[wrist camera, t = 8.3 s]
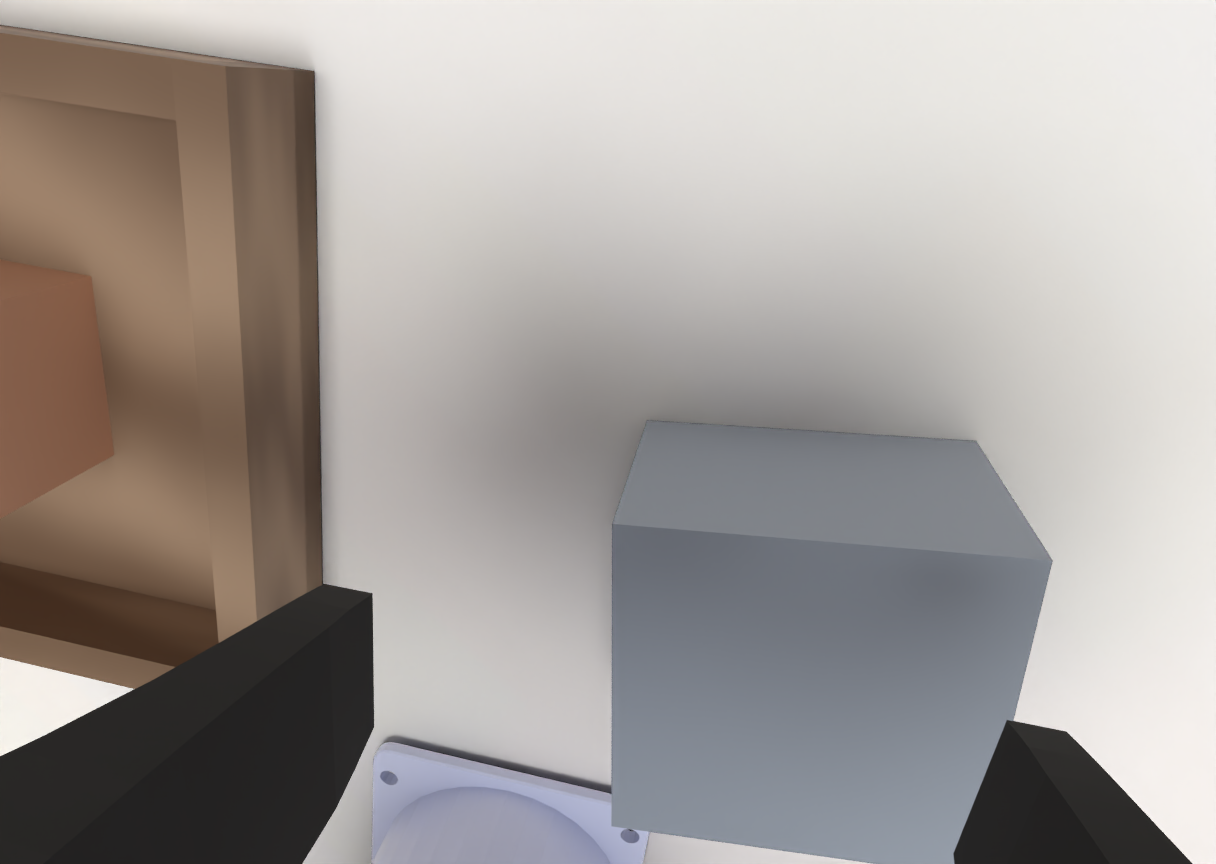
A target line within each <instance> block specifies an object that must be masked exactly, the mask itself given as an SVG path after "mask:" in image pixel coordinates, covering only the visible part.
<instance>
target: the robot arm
mask: <svg viewBox="0 0 1216 864" xmlns="http://www.w3.org/2000/svg"><path fill="white" fill-rule="evenodd" d="M373 728H374V686H373V604H372V593H367V592H362V591H357V590H352V589H347V588H342V587H337V586H332V585H327V584H323V585H321V586H319V587H317V588H315V589H313V590H311V591H309V592H307V593H306V594H304V595H302V596H300V597H298V598H296V599H295V600H293V601H291V602H289V603H288V604H286V605H284V606H282V607H281V608H279V609H277V610H275V611H274V612H272V613H270V614H268V615H267V616H265V617H263V618H261V619H260V620H258V621H256V622H254V623H253V624H251V625H249V626H248V627H246V628H244V629H242V630H241V631H239V632H237V633H235V634H234V635H232V636H230V637H228V638H227V639H225V640H223V641H221V642H220V643H218V644H216V645H214V646H212V647H211V648H209V649H207V650H205V651H204V652H202V653H200V654H198V655H196V656H195V657H193V658H191V659H189V660H187V661H186V662H184V663H182V664H180V665H179V666H177V667H175V668H173V669H171V670H170V671H168V672H166V673H164V674H162V675H161V676H159V677H157V678H155V679H153V680H152V681H150V682H148V683H146V684H144V685H142V686H140V687H138V688H136V689H134V690H132V691H130V692H128V693H126V694H124V695H123V696H121V697H119V698H117V699H115V700H113V701H111V702H109V703H107V704H105V705H103V706H101V707H99V708H97V709H95V710H93V711H91V712H89V713H87V714H86V715H84V716H82V717H80V718H78V719H76V720H74V721H72V722H70V723H68V724H66V725H64V726H62V727H60V728H58V729H56V730H54V731H52V732H50V733H49V734H47V735H45V736H42V737H40V738H38V739H36V740H34V741H32V742H30V743H28V744H26V745H24V746H22V747H19V748H17V749H15V750H13V751H11V752H9V753H6V754H4V755H2V756H0V864H302V863H303V861H304V860H305V858H306V857H307V855H308V853H309V852H310V850H311V848H312V847H313V845H314V844H315V842H316V840H317V839H318V837H319V835H320V834H321V832H322V831H323V829H324V827H325V826H326V824H327V822H328V821H329V819H330V817H331V816H332V814H333V812H334V811H335V809H336V807H337V805H338V803H339V801H340V799H341V797H342V795H343V793H344V791H345V789H346V786H347V784H348V782H349V780H350V778H351V776H352V774H353V772H354V770H355V768H356V765H357V763H358V761H359V759H360V757H361V754H362V752H363V750H364V748H365V746H366V743H367V741H368V739H369V737H370V735H371V732H372V730H373ZM389 771H390V772H389ZM391 772H392V773H391ZM393 773H394V774H393ZM611 816H612V794H610V793H606V792H602V791H598V790H593V789H589V788H585V787H581V786H576V785H572V784H568V783H564V782H560V781H555V780H551V779H547V778H543V777H538V776H534V775H530V774H526V773H522V772H517V771H513V770H509V769H505V768H500V767H496V766H492V765H488V764H484V763H479V762H475V761H471V760H467V759H462V758H458V757H454V756H450V755H446V754H441V753H437V752H433V751H429V750H424V749H420V748H416V747H412V746H407V745H403V744H399V743H393V742H387V743H384V744H382V745H381V746H380V747H379V748H378V750H377V752H376V754H375V756H374V759H373V811H372V864H643V860H644V856H645V851H646V846H647V841H648V837H649V832H648V831H641V830H634V829H632V830H634V831H629V830H627V828H620V827H613V826H611ZM953 856H954V864H1192V863H1191V862H1190V861H1189V860H1188V858H1187V857H1186V856H1185V855H1184V854H1183V853H1182V852H1181V851H1180V850H1179V849H1178V848H1177V847H1176V846H1175V845H1174V844H1173V843H1172V842H1171V840H1170V839H1169V838H1168V837H1167V836H1166V835H1165V834H1164V833H1163V832H1162V831H1161V830H1160V829H1159V828H1158V827H1157V826H1156V824H1155V823H1154V822H1153V821H1152V820H1151V819H1150V818H1149V817H1148V816H1147V815H1146V814H1145V813H1144V812H1143V811H1142V810H1141V808H1140V807H1139V806H1138V805H1137V804H1136V803H1135V802H1134V801H1133V800H1132V799H1131V798H1130V797H1129V796H1128V795H1127V794H1126V792H1125V791H1124V790H1123V789H1122V788H1121V787H1120V786H1119V785H1118V784H1117V783H1116V782H1115V781H1114V780H1113V779H1112V778H1111V777H1110V775H1109V774H1108V773H1107V772H1106V771H1105V770H1104V769H1103V768H1102V767H1101V766H1100V765H1099V764H1098V763H1097V762H1096V761H1095V760H1094V759H1093V758H1092V757H1091V756H1090V755H1089V754H1088V753H1087V752H1086V751H1085V750H1084V749H1083V748H1082V747H1081V746H1080V745H1079V744H1078V743H1077V742H1076V741H1075V740H1074V739H1073V738H1072V737H1071V736H1070V735H1069V734H1068V733H1067V732H1065V731H1060V730H1055V729H1050V728H1045V727H1040V726H1035V725H1030V724H1025V723H1020V722H1015V721H1010V720H1007V721H1006V723H1005V726H1004V728H1003V731H1002V733H1001V736H1000V738H999V741H998V743H997V746H996V748H995V751H994V753H993V756H992V758H991V761H990V763H989V766H988V768H987V771H986V773H985V776H984V778H983V781H982V783H981V786H980V788H979V791H978V793H977V796H976V798H975V801H974V803H973V806H972V808H971V811H970V813H969V816H968V818H967V821H966V823H965V826H964V828H963V831H962V833H961V836H960V838H959V841H958V843H957V846H956V848H955V851H954V853H953Z"/></svg>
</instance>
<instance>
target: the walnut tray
mask: <svg viewBox="0 0 1216 864" xmlns="http://www.w3.org/2000/svg"><path fill="white" fill-rule="evenodd" d="M0 259H1V260H6V261H11V262H17V263H22V264H28V265H33V266H39V267H44V268H50V269H55V270H61V271H66V272H71V273H77V274H82V275H88V276H91V278H92V286H93V293H94V301H95V309H96V317H97V324H98V332H99V340H100V348H101V355H102V363H103V371H104V379H105V387H106V394H107V402H108V410H109V418H110V425H111V433H112V441H113V449H114V455H113V456H111V457H110V458H108V459H106V460H104V461H103V462H101V463H99V464H97V465H95V466H94V467H92V468H90V469H88V470H86V471H85V472H83V473H81V474H79V475H77V476H76V477H74V478H72V479H70V480H68V481H67V482H65V483H63V484H61V485H60V486H58V487H56V488H54V489H52V490H51V491H49V492H47V493H45V494H43V495H42V496H40V497H38V498H36V499H34V500H33V501H31V502H29V503H27V504H26V505H24V506H22V507H20V508H18V509H17V510H15V511H13V512H11V513H9V514H8V515H6V516H4V517H2V518H0V657H3V658H7V659H11V660H15V661H20V662H24V663H28V664H32V665H36V666H41V667H45V668H49V669H53V670H57V671H62V672H66V673H70V674H74V675H78V676H83V677H87V678H91V679H95V680H99V681H104V682H108V683H112V684H116V685H120V686H125V687H129V688H133V689H136V688H138V687H140V686H142V685H144V684H146V683H148V682H150V681H152V680H153V679H155V678H157V677H159V676H161V675H162V674H164V673H166V672H168V671H170V670H171V669H173V668H175V667H177V666H179V665H180V664H182V663H184V662H186V661H187V660H189V659H191V658H193V657H195V656H196V655H198V654H200V653H202V652H204V651H205V650H207V649H209V648H211V647H212V646H214V645H216V644H218V643H220V642H221V641H223V640H225V639H227V638H228V637H230V636H232V635H234V634H235V633H237V632H239V631H241V630H242V629H244V628H246V627H248V626H249V625H251V624H253V623H254V622H256V621H258V620H260V619H261V618H263V617H265V616H267V615H268V614H270V613H272V612H274V611H275V610H277V609H279V608H281V607H282V606H284V605H286V604H288V603H289V602H291V601H293V600H295V599H296V598H298V597H300V596H302V595H304V594H306V593H307V592H309V591H311V590H313V589H315V588H317V587H319V586H321V585H322V536H321V474H320V413H319V352H318V290H317V229H316V168H315V107H314V71H310V70H303V69H296V68H289V67H282V66H276V65H269V64H262V63H255V62H248V61H242V60H235V59H228V58H221V57H215V56H208V55H201V54H194V53H187V52H181V51H174V50H167V49H160V48H154V47H147V46H140V45H133V44H126V43H120V42H113V41H106V40H99V39H93V38H86V37H79V36H72V35H65V34H59V33H52V32H45V31H38V30H32V29H25V28H18V27H11V26H4V25H0Z"/></svg>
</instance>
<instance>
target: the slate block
mask: <svg viewBox="0 0 1216 864" xmlns="http://www.w3.org/2000/svg"><path fill="white" fill-rule="evenodd" d="M1052 561H1053V560H1052V559H1051V557H1050V556H1049V554H1048V553H1047V551H1046V549H1045V548H1044V546H1043V545H1042V543H1041V542H1040V540H1039V538H1038V537H1037V535H1036V534H1035V532H1034V531H1033V529H1032V528H1031V526H1030V524H1029V523H1028V521H1027V520H1026V518H1025V517H1024V515H1023V513H1022V512H1021V510H1020V509H1019V507H1018V506H1017V504H1016V503H1015V501H1014V499H1013V498H1012V496H1011V495H1010V493H1009V492H1008V490H1007V488H1006V487H1005V485H1004V484H1003V482H1002V481H1001V479H1000V478H999V476H998V474H997V473H996V471H995V470H994V468H993V467H992V465H991V463H990V462H989V460H988V459H987V457H986V456H985V454H984V453H983V451H982V449H981V448H980V446H979V445H978V443H977V442H976V441H968V440H952V439H936V438H920V437H904V436H889V435H873V434H857V433H841V432H825V431H809V430H793V429H777V428H761V427H746V426H730V425H714V424H698V423H682V422H666V421H650V420H647V422H646V425H645V428H644V431H643V434H642V437H641V440H640V443H639V446H638V449H637V452H636V455H635V458H634V461H633V464H632V467H631V470H630V473H629V476H628V479H627V482H626V485H625V488H624V491H623V494H622V497H621V500H620V502H619V505H618V508H617V511H616V514H615V517H614V520H613V523H612V816H611V826H613V827H620V828H627V829H634V830H641V831H648V832H655V833H662V834H669V835H676V836H683V837H690V838H697V839H704V840H711V841H718V842H725V843H732V844H739V845H746V846H753V847H760V848H768V849H775V850H782V851H789V852H796V853H803V854H810V855H817V856H824V857H831V858H838V859H845V860H852V861H859V862H866V863H873V864H954V856H953V853H954V851H955V848H956V846H957V843H958V841H959V838H960V836H961V833H962V831H963V828H964V826H965V823H966V821H967V818H968V816H969V813H970V811H971V808H972V806H973V803H974V801H975V798H976V796H977V793H978V791H979V788H980V786H981V783H982V781H983V778H984V776H985V773H986V771H987V768H988V766H989V763H990V761H991V758H992V756H993V753H994V751H995V748H996V746H997V743H998V741H999V738H1000V736H1001V733H1002V731H1003V728H1004V726H1005V723H1006V721H1007V720H1010V721H1013V720H1014V716H1015V711H1016V707H1017V703H1018V699H1019V695H1020V691H1021V687H1022V683H1023V679H1024V675H1025V671H1026V667H1027V663H1028V659H1029V655H1030V650H1031V646H1032V642H1033V638H1034V634H1035V630H1036V626H1037V622H1038V618H1039V614H1040V610H1041V606H1042V602H1043V598H1044V594H1045V589H1046V585H1047V581H1048V577H1049V573H1050V569H1051V565H1052Z"/></svg>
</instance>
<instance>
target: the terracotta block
mask: <svg viewBox="0 0 1216 864" xmlns="http://www.w3.org/2000/svg"><path fill="white" fill-rule="evenodd" d="M113 455H114V449H113V441H112V433H111V425H110V418H109V410H108V402H107V394H106V387H105V379H104V371H103V363H102V355H101V348H100V340H99V332H98V324H97V317H96V309H95V301H94V293H93V286H92V278H91V276H88V275H82V274H77V273H71V272H66V271H61V270H55V269H50V268H44V267H39V266H33V265H28V264H22V263H17V262H11V261H6V260H1V259H0V518H2V517H4V516H6V515H8V514H9V513H11V512H13V511H15V510H17V509H18V508H20V507H22V506H24V505H26V504H27V503H29V502H31V501H33V500H34V499H36V498H38V497H40V496H42V495H43V494H45V493H47V492H49V491H51V490H52V489H54V488H56V487H58V486H60V485H61V484H63V483H65V482H67V481H68V480H70V479H72V478H74V477H76V476H77V475H79V474H81V473H83V472H85V471H86V470H88V469H90V468H92V467H94V466H95V465H97V464H99V463H101V462H103V461H104V460H106V459H108V458H110V457H111V456H113Z"/></svg>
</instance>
